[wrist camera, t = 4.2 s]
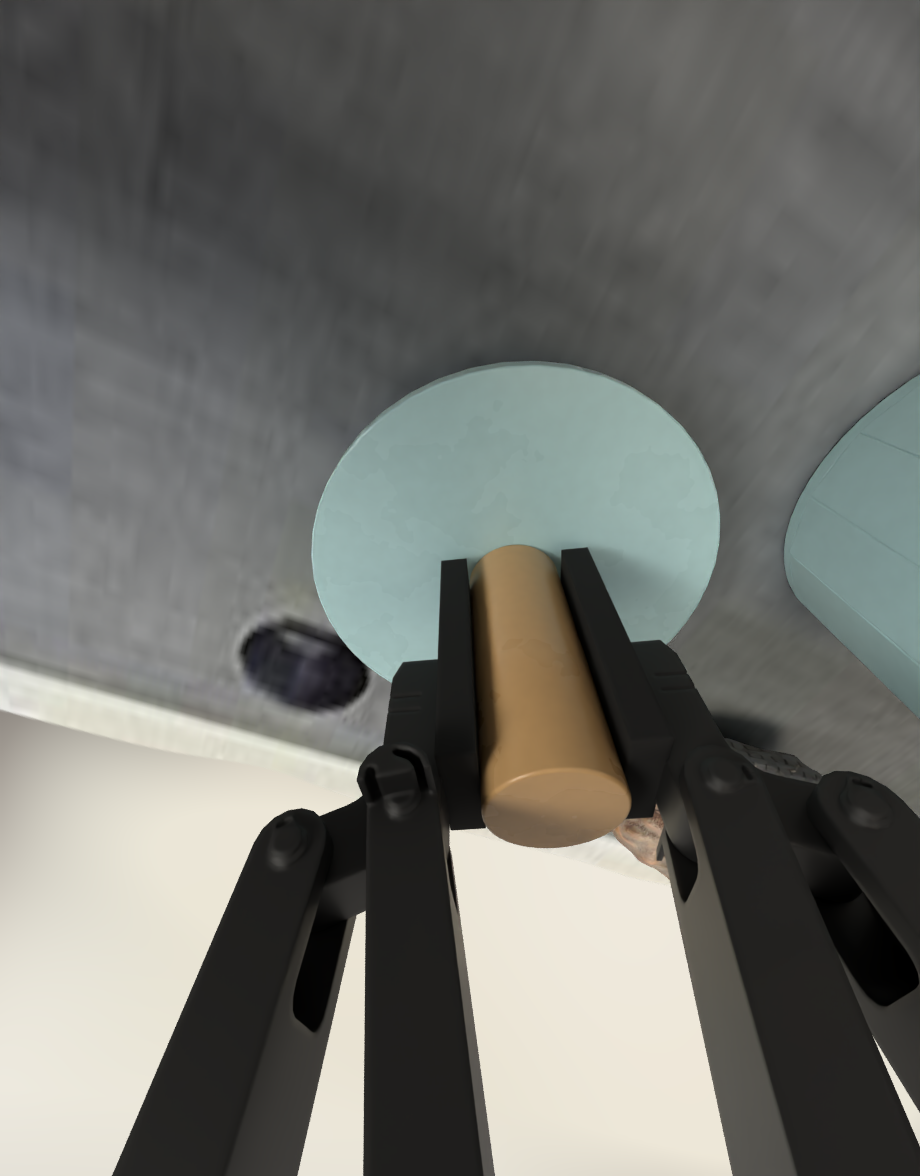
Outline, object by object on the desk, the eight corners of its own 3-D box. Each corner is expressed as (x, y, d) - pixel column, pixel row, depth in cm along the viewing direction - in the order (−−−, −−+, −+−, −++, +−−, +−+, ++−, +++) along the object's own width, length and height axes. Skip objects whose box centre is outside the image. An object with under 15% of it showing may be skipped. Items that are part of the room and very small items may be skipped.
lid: (263, 383, 12) (8, 561, 5) (750, 328, 12) (1201, 446, 5) (366, 699, 20) (318, 949, 13) (668, 675, 19) (795, 924, 12)
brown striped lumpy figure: (556, 761, 25) (605, 1003, 17) (619, 673, 21) (722, 931, 13) (742, 796, 27) (865, 1026, 19) (829, 722, 24) (1031, 970, 15)
